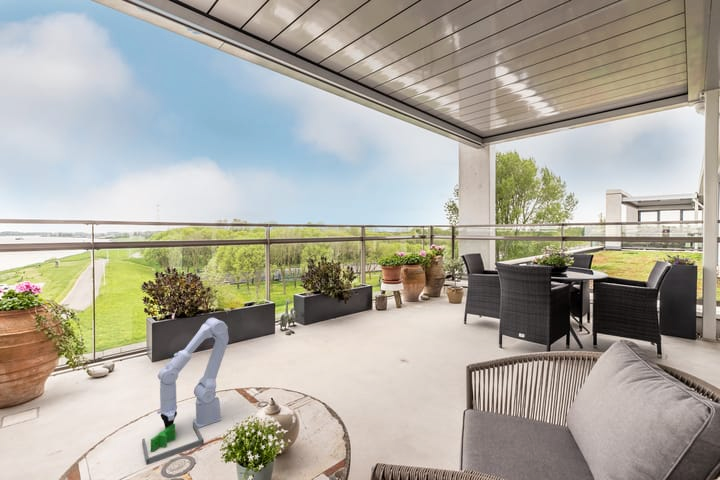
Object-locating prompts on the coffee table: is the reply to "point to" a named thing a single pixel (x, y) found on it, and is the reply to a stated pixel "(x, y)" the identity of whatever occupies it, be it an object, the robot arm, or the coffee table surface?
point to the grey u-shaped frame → (173, 451)
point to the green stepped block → (163, 438)
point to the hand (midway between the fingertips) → (169, 430)
